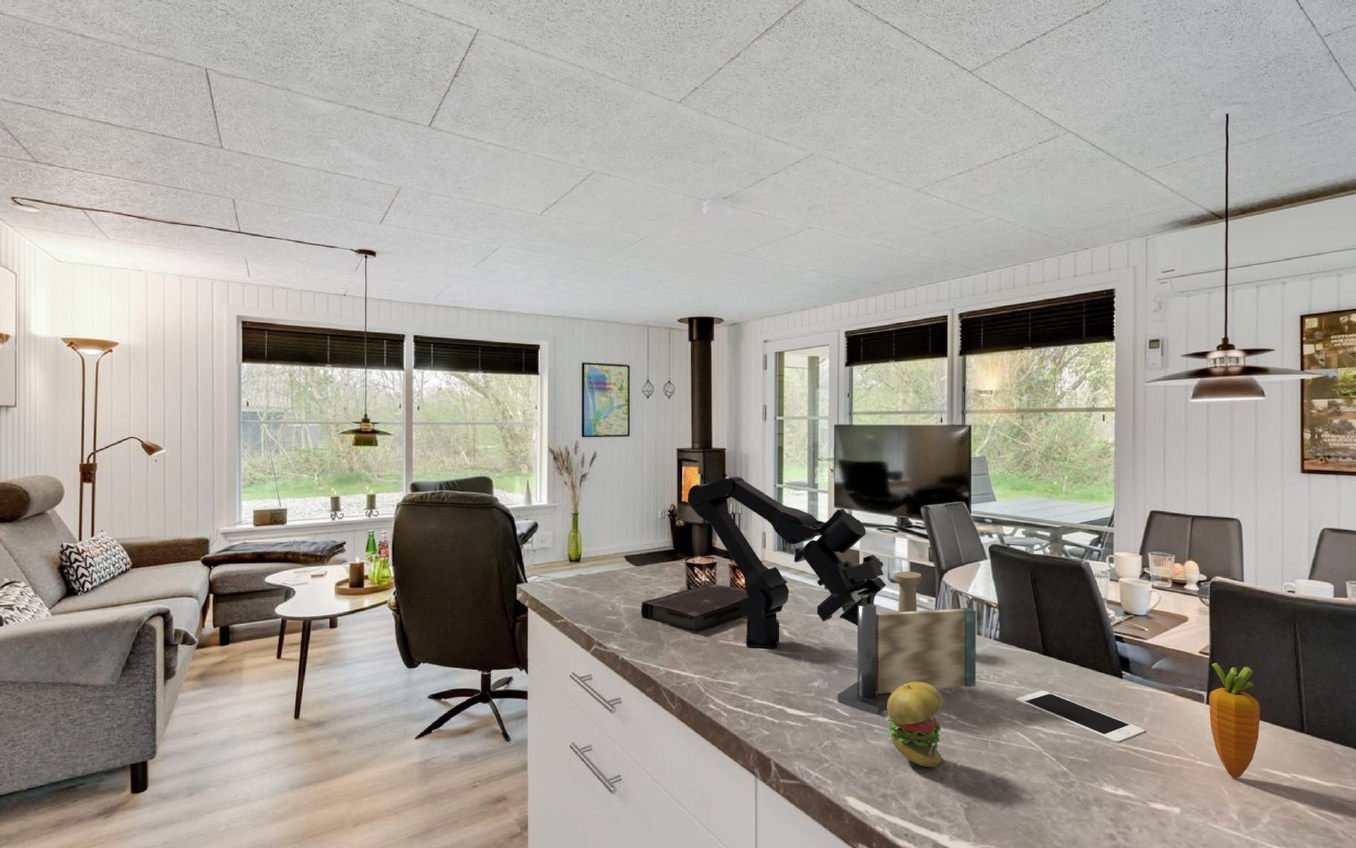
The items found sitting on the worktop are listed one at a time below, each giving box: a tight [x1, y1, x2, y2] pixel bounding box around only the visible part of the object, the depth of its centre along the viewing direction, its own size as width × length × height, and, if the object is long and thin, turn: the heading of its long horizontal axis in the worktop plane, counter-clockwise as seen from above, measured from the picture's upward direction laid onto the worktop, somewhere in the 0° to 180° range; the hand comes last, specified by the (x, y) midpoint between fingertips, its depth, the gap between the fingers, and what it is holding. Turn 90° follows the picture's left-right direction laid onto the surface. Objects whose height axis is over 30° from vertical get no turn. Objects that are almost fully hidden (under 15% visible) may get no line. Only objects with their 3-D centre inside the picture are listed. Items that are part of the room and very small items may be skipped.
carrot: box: [1208, 662, 1261, 780], centre depth 81 cm, size 5×5×15 cm
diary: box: [640, 583, 748, 634], centre depth 152 cm, size 19×25×5 cm
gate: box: [876, 607, 977, 693], centre depth 106 cm, size 18×2×13 cm, turn 101°
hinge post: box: [837, 603, 892, 715], centre depth 104 cm, size 7×7×16 cm
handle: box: [893, 571, 922, 612], centre depth 131 cm, size 5×6×15 cm
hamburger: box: [886, 673, 944, 768], centre depth 85 cm, size 8×7×12 cm
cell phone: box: [1015, 690, 1146, 743], centre depth 99 cm, size 8×16×1 cm, turn 27°
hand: (881, 636), depth 114 cm, fingers closed
